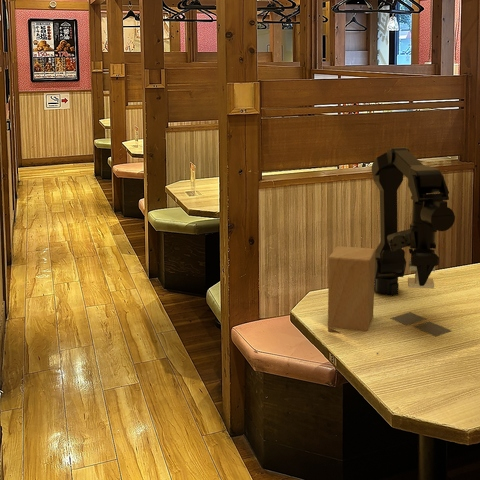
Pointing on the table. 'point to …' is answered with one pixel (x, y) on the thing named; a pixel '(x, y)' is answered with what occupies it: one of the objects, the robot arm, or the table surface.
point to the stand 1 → (408, 318)
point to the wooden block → (351, 288)
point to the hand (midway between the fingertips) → (421, 282)
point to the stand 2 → (432, 328)
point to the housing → (415, 281)
